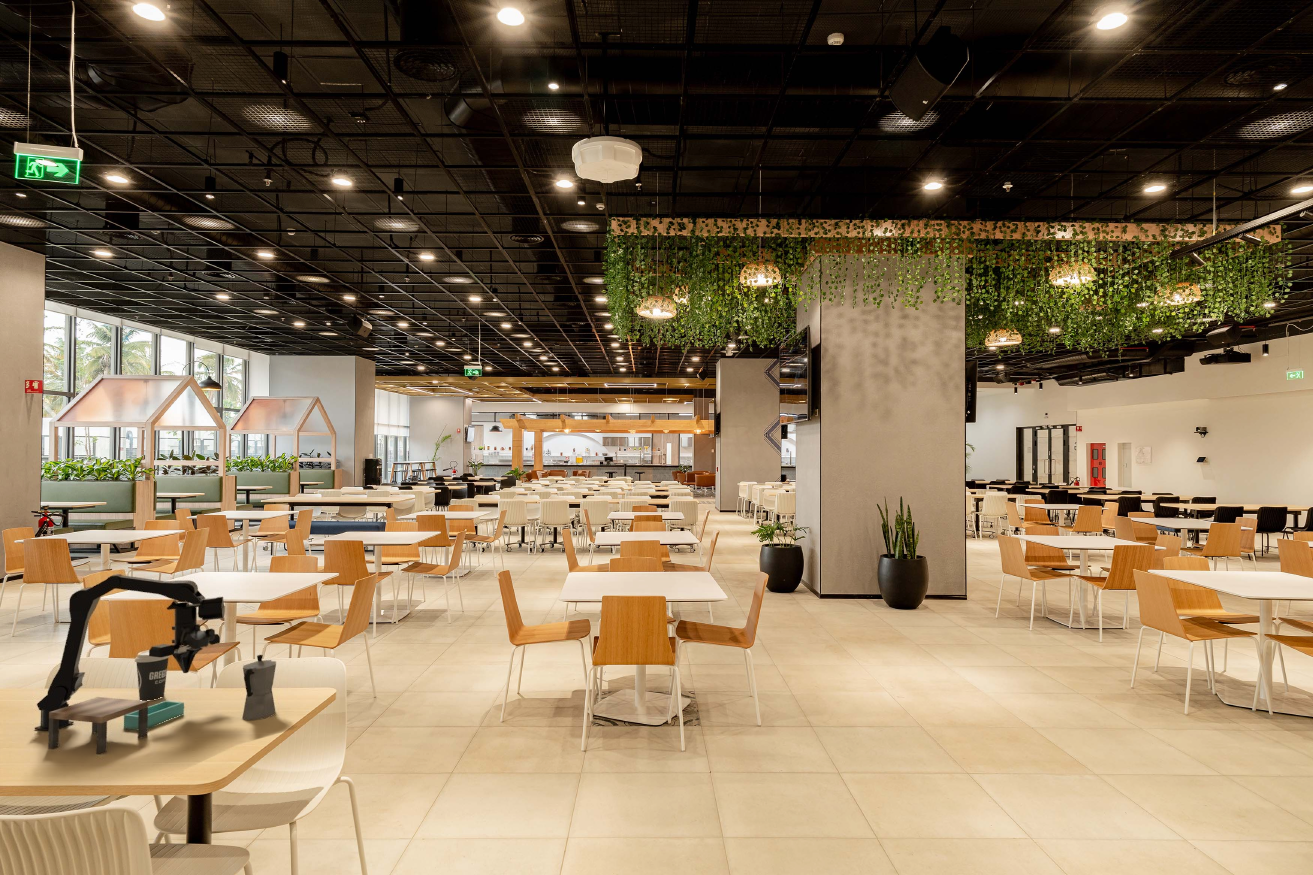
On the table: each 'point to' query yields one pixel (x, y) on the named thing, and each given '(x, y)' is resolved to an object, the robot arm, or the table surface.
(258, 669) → the coffeepot
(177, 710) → the tray
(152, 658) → the coffee cup
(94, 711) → the wooden step stool
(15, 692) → the table surface
